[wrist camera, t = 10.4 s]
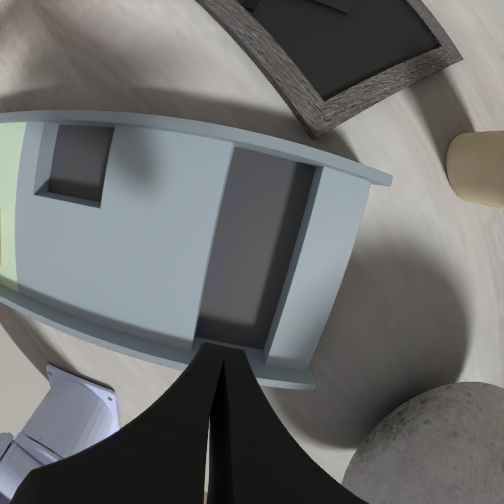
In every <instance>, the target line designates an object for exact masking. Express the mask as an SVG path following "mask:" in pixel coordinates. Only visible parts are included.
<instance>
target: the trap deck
mask: <svg viewBox="0 0 504 504" xmlns="http://www.w3.org/2000/svg"><path fill="white" fill-rule="evenodd" d="M392 178H393V176H392V175H390V174H387V173H385V172H382V171H380V170H377V169H374V168H372V167H369V166H366V165H364V164H361V163H358V162H355V161H352V160H350V159H347V158H344V157H341V156H338V155H335V154H332V153H329V152H325V151H322V150H319V149H316V148H313V147H309V146H306V145H302V144H299V143H295V142H292V141H288V140H284V139H280V138H277V137H273V136H269V135H265V134H261V133H256V132H252V131H248V130H243V129H238V128H234V127H229V126H224V125H218V124H213V123H208V122H202V121H196V120H190V119H183V118H176V117H169V116H161V115H152V114H143V113H132V112H120V111H103V110H33V111H18V112H6V113H0V210H1V224H0V227H1V256H2V265H1V266H0V302H1V303H3V304H5V305H7V306H9V307H11V308H13V309H14V310H16V311H18V312H20V313H22V314H24V315H26V316H28V317H31V318H33V319H35V320H37V321H39V322H41V323H43V324H46V325H48V326H50V327H52V328H55V329H57V330H59V331H62V332H64V333H67V334H69V335H72V336H74V337H77V338H79V339H82V340H84V341H87V342H90V343H92V344H95V345H98V346H101V347H104V348H106V349H109V350H112V351H115V352H118V353H121V354H125V355H128V356H131V357H134V358H138V359H141V360H144V361H148V362H151V363H155V364H159V365H162V366H166V367H170V368H174V369H178V370H182V371H184V370H185V369H186V368H187V367H188V365H189V364H190V362H191V361H192V360H193V358H194V357H195V355H196V353H197V352H198V350H199V348H200V345H201V344H202V343H204V342H207V343H212V344H216V345H221V346H226V347H231V348H237V349H242V350H244V351H245V353H246V355H247V358H248V361H249V363H250V366H251V368H252V371H253V373H254V375H255V377H256V379H257V381H258V383H259V385H262V386H270V387H278V388H287V389H296V390H308V391H315V389H316V387H317V385H318V384H317V381H316V378H315V375H314V372H313V369H312V366H311V363H310V362H311V359H312V357H313V355H314V352H315V350H316V348H317V345H318V343H319V340H320V338H321V335H322V333H323V330H324V328H325V325H326V323H327V320H328V318H329V315H330V312H331V310H332V307H333V304H334V302H335V299H336V296H337V294H338V291H339V288H340V285H341V282H342V279H343V276H344V274H345V271H346V268H347V265H348V261H349V258H350V255H351V252H352V249H353V246H354V243H355V239H356V236H357V233H358V229H359V226H360V222H361V219H362V215H363V212H364V208H365V204H366V201H367V197H368V193H369V189H370V185H371V184H376V185H384V186H391V182H392Z"/></svg>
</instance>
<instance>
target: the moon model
mask: <svg viewBox="0 0 504 504" xmlns="http://www.w3.org/2000/svg"><path fill="white" fill-rule="evenodd" d="M341 485H342V486H344V487H345V488H346V489H348V490H349V491H350V492H352V493H353V494H355V495H356V496H358V497H359V498H361V499H362V500H364V501H366V502H368V503H369V504H504V389H503V388H501V387H498V386H495V385H492V384H487V383H482V382H460V383H452V384H447V385H443V386H440V387H437V388H433V389H431V390H428V391H426V392H423V393H421V394H419V395H417V396H415V397H414V398H412V399H410V400H408V401H407V402H405V403H403V404H402V405H400V406H399V407H397V408H396V409H395V410H393V411H392V412H391V413H390V414H388V415H387V416H386V417H385V418H384V419H383V420H381V421H380V422H379V423H378V424H377V425H376V426H375V427H374V428H373V429H372V431H371V432H370V433H369V434H368V435H367V437H366V438H365V439H364V440H363V441H362V443H361V444H360V446H359V447H358V449H357V450H356V452H355V454H354V455H353V457H352V459H351V461H350V463H349V465H348V467H347V469H346V472H345V475H344V478H343V481H342V484H341Z"/></svg>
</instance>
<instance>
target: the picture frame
mask: <svg viewBox="0 0 504 504" xmlns="http://www.w3.org/2000/svg"><path fill="white" fill-rule="evenodd" d="M196 1H197V2H198V3H199V4H200V5H201V6H202V7H203V8H204V9H205V10H206V11H207V12H208V13H209V14H210V15H211V16H212V17H213V18H214V19H215V20H216V21H217V22H218V23H219V24H220V25H221V26H222V27H223V28H224V29H225V30H226V31H227V32H228V33H229V35H230V36H231V37H232V38H233V39H234V40H235V41H236V42H237V43H238V44H239V46H240V47H241V48H242V49H243V50H244V51H245V52H246V54H247V55H248V56H249V57H250V58H251V59H252V61H253V62H254V63H255V64H256V65H257V67H258V68H259V69H260V70H261V71H262V73H263V74H264V75H265V76H266V78H267V79H268V80H269V81H270V83H271V84H272V85H273V86H274V88H275V89H276V90H277V92H278V93H279V94H280V96H281V97H282V98H283V99H284V101H285V102H286V103H287V105H288V106H289V108H290V109H291V110H292V112H293V113H294V114H295V116H296V117H297V119H298V120H299V121H300V123H301V124H302V126H303V127H304V129H305V130H306V131H307V133H308V134H309V136H310V137H311V139H312V140H314V139H316V138H318V137H320V136H321V135H323V134H325V133H326V132H328V131H330V130H331V129H333V128H335V127H336V126H338V125H340V124H341V123H343V122H345V121H346V120H348V119H350V118H352V117H353V116H355V115H357V114H358V113H360V112H362V111H364V110H365V109H367V108H369V107H371V106H373V105H374V104H376V103H378V102H380V101H382V100H383V99H385V98H387V97H389V96H391V95H393V94H394V93H396V92H398V91H400V90H402V89H404V88H406V87H408V86H410V85H412V84H414V83H415V82H417V81H419V80H421V79H423V78H425V77H427V76H429V75H431V74H433V73H436V72H438V71H440V70H442V69H444V68H446V67H448V66H450V65H452V64H454V63H457V62H459V61H461V60H463V58H462V56H461V54H460V53H459V51H458V50H457V48H456V47H455V45H454V43H453V42H452V40H451V39H450V38H449V36H448V35H447V33H446V32H445V30H444V29H443V28H442V26H441V25H440V24H439V22H438V21H437V20H436V18H435V17H434V16H433V14H432V13H431V12H430V11H429V9H428V8H427V7H426V6H425V5H424V3H423V2H422V1H421V0H196Z"/></svg>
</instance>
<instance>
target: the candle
mask: <svg viewBox="0 0 504 504" xmlns="http://www.w3.org/2000/svg"><path fill="white" fill-rule="evenodd" d="M446 170H447V175H448V179H449V182H450V184H451V187H452V188H453V190H454V192H455V193H456V194H457V195H458V196H459V197H460V198H462V199H463V200H465V201H468V202H472V203H476V204H481V205H485V206H489V207H493V208H497V209H501V210H504V131H487V132H473V133H463V134H460V135H458V136H456V137H455V138H454V139H453V140H452V141H451V143H450V145H449V147H448V151H447V156H446Z"/></svg>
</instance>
